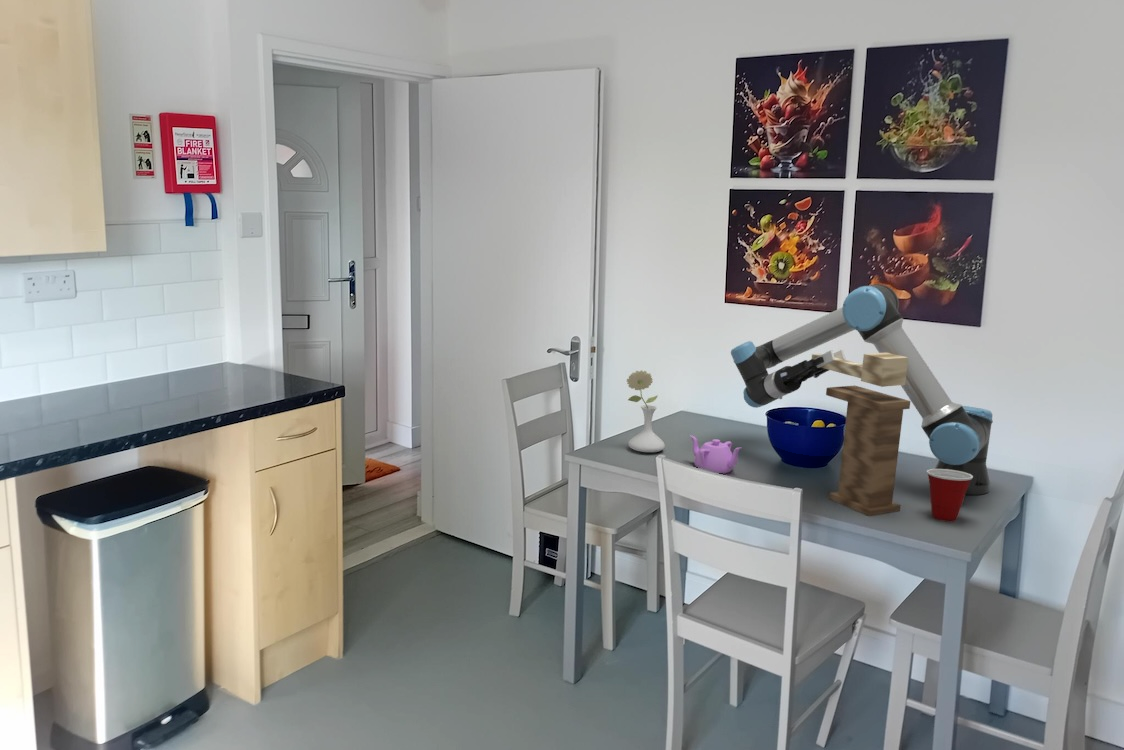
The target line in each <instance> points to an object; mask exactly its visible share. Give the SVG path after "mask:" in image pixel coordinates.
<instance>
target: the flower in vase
mask: <svg viewBox="0 0 1124 750" xmlns="http://www.w3.org/2000/svg"><path fill="white" fill-rule="evenodd" d="M653 380H654V379H653V377H652V375H651V373H648V372H647V371H646V370H644V371H643V370H636V371H635V372H634V371H633V372H632V373H631V374H630V375H628V378H626V382H627V385H628V388H630V389H632V390H634V391H640V396H639V395H631V396H630V397H629V398H628V399H627V401H631V402H634V403H638V402H640V401H641V400H642V401H643V403H644V405H641V406H640V409H641V410H642V412H643V419H644V423H643V428H642V430H641V431H640V432H638V434H636V435H634V436H633V437H632V438H631V439H629V441H628V443H627V445H628V447H629V448H630V449H633V450H634V451H637V452H639V453H640V452H641V453H657V452H661V451H663V450H664V449H665V447H666V445H665V442H664V441H663V440H662V439H661V438H660V437H659V436H658V435H657V434H656V433H654V431H653V428H652V423H653V422H652V421H653V416H654V413H655V411H656V410H657V408H658V407H657V406H656V405H653V404H650V403H653V402H654V401H656V400H657V399H658V395H655V396H652V397H648V398H647V399H646V401H645V399H644V398H643V393H642V390H645V389H648V388H650V386H651V385H652V384H653V382H654V381H653Z"/></svg>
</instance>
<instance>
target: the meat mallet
mask: <svg viewBox="0 0 1124 750" xmlns="http://www.w3.org/2000/svg"><path fill="white" fill-rule="evenodd" d="M823 354H824V353H823ZM823 354H822V353H812V354H811V359H814V360H815V358H817V357H819V356H821V355H823ZM907 365H908V357H904V356H900V355H895V354H891V353H879V352H874V353H873V352H872V353H863V358H862V363H858V362H854V361H851V360H847V359H845V360H843V359H839V358H835V360H834V361H832V362H830V363H828V364H826V365H824V366H822V367H821V368H824V369H828V370H829V371H833V372H837V373H839V374H844V375H847V376H851V377H854V378H858V379H860V381H861V382H863V383H867V384H870V385H875V386H876V387H877V386H878V387H881V388H883V387H894V386H901V385H905V381H906V373H907Z"/></svg>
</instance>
